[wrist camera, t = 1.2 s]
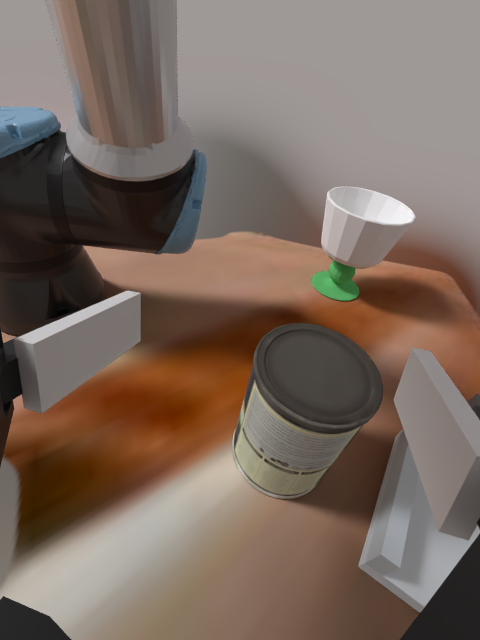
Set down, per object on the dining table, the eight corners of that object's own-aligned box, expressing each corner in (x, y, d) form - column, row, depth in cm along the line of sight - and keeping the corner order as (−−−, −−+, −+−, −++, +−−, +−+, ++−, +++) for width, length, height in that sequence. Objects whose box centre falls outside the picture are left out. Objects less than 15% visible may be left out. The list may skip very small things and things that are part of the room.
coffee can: (224, 410, 37) (243, 322, 28) (306, 404, 40) (349, 321, 30) (240, 508, 30) (272, 434, 20) (339, 493, 32) (410, 420, 23)
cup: (384, 291, 61) (429, 212, 50) (348, 321, 53) (393, 233, 42) (324, 258, 67) (354, 181, 56) (284, 279, 59) (309, 194, 48)
